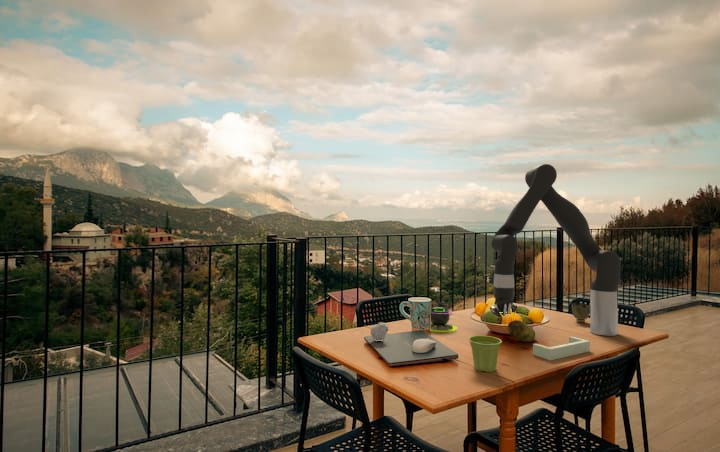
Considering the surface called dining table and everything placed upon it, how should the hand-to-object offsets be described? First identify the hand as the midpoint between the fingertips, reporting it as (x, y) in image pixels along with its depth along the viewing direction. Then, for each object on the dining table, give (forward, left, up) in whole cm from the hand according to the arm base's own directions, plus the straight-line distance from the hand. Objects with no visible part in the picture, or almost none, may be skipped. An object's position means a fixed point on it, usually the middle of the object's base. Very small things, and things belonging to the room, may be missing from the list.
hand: (503, 330), depth 158 cm
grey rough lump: (+47, -15, -2) cm, 50 cm away
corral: (0, +25, -2) cm, 25 cm away
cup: (-49, 0, -2) cm, 49 cm away
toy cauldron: (+14, -21, -2) cm, 26 cm away
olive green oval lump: (0, +9, -2) cm, 9 cm away
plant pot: (+34, +24, -2) cm, 42 cm away
